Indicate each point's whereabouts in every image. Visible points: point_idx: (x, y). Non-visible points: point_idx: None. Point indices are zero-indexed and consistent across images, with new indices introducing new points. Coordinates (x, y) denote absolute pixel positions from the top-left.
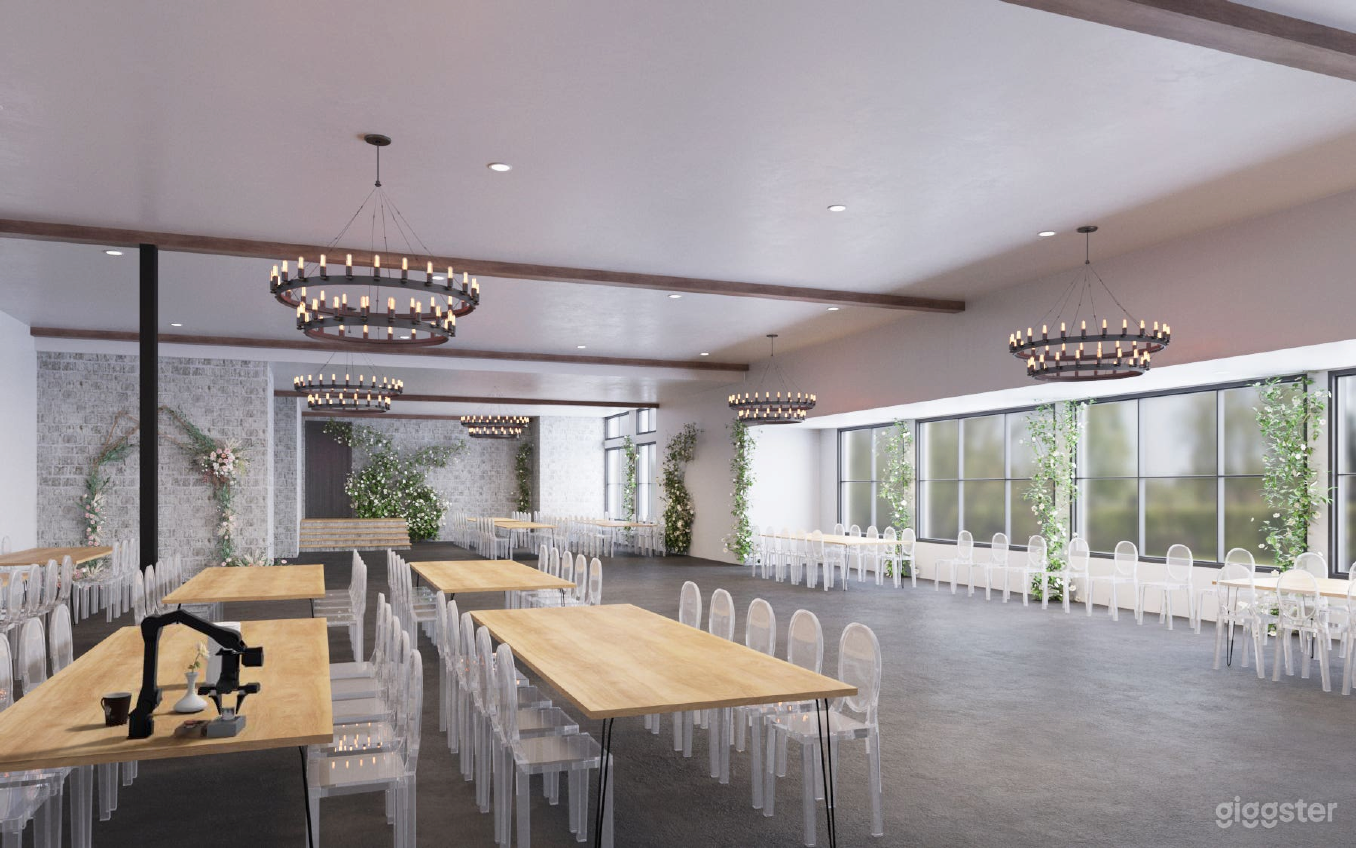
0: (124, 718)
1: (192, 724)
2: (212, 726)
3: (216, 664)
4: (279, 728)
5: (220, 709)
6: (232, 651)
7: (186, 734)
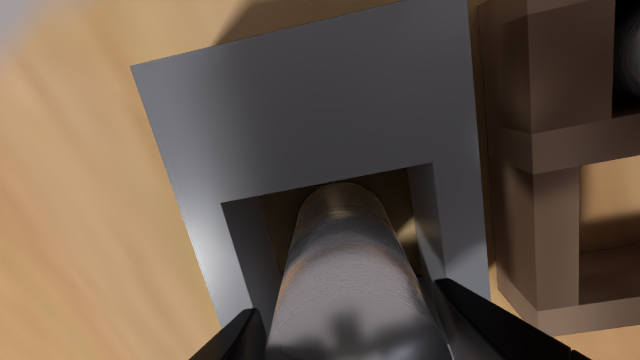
0: None
1: None
2: (395, 3)
3: None
4: (21, 300)
5: (462, 331)
6: None
7: None
